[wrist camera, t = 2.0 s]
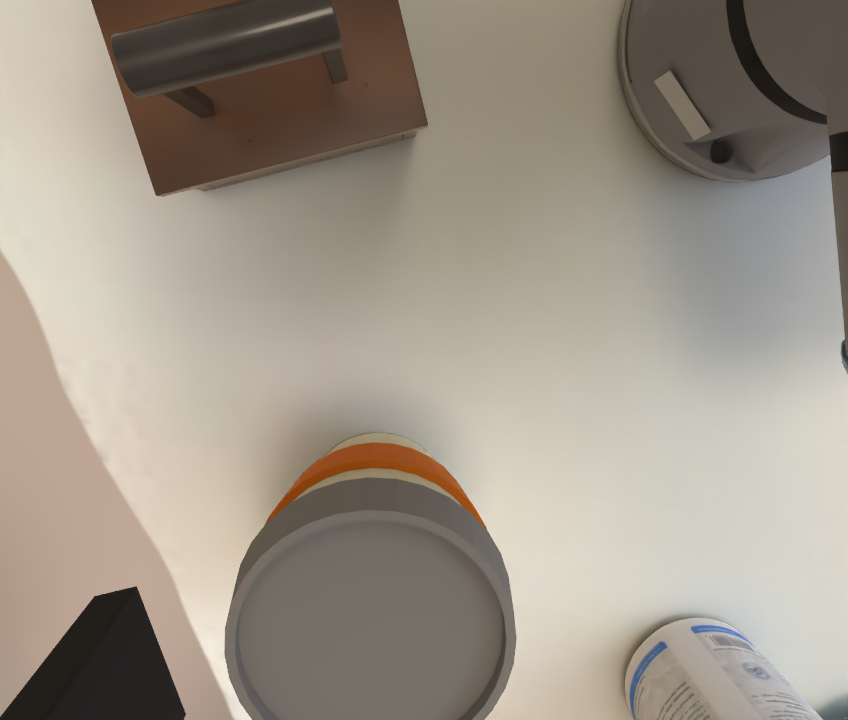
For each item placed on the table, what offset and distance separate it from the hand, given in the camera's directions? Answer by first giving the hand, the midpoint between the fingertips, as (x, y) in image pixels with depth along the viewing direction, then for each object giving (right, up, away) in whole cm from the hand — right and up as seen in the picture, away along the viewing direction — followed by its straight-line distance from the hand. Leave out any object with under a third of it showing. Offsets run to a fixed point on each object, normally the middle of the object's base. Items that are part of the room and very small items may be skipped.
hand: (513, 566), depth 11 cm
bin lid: (-9, +20, +17) cm, 28 cm away
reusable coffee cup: (-5, -5, +30) cm, 31 cm away
